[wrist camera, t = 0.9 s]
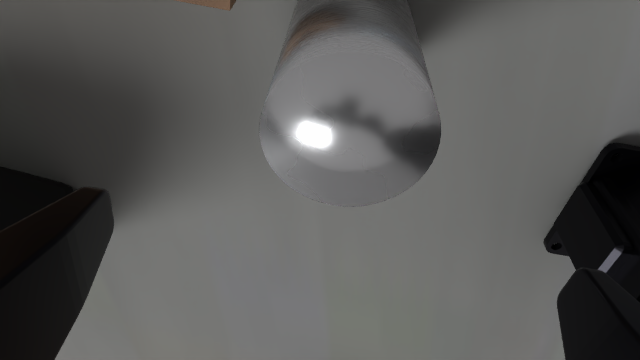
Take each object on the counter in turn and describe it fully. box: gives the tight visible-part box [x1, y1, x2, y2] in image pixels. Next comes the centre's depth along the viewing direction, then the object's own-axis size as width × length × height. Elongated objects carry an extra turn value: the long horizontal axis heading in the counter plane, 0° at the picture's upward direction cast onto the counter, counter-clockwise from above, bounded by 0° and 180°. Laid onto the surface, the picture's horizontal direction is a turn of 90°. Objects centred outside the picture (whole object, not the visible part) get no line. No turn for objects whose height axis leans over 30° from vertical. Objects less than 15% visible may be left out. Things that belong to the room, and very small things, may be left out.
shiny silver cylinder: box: [259, 0, 441, 207], centre depth 15 cm, size 4×4×8 cm
